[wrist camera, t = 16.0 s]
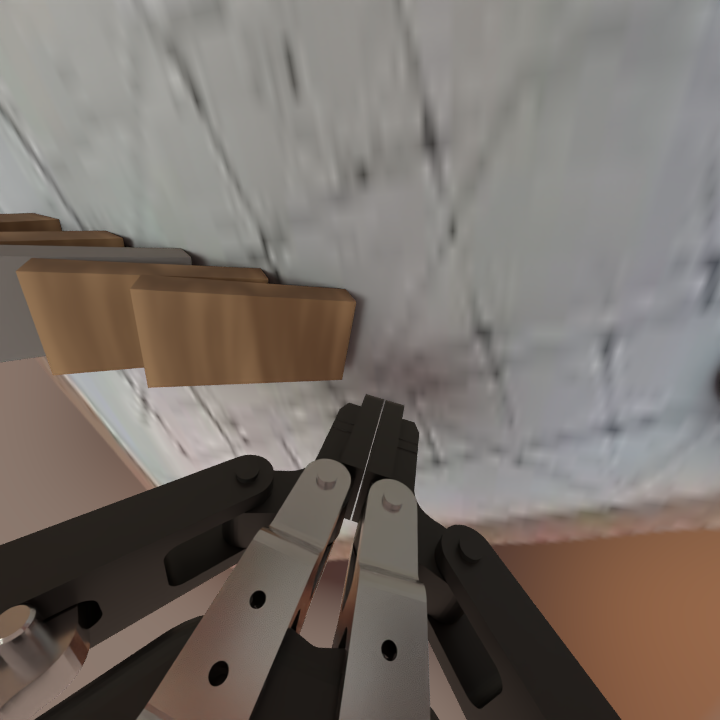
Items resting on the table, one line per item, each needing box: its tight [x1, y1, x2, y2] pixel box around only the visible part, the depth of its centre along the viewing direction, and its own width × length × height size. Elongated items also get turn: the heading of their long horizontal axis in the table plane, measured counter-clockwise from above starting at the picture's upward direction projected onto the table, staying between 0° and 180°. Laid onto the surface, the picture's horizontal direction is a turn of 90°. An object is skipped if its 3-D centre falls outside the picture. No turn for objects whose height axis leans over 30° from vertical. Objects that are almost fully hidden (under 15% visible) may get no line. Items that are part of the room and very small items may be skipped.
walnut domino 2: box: [16, 258, 268, 375], centre depth 17 cm, size 2×5×10 cm
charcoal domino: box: [0, 245, 192, 362], centre depth 17 cm, size 2×5×10 cm
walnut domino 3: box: [130, 275, 356, 388], centre depth 17 cm, size 2×5×10 cm
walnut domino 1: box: [0, 231, 124, 247], centre depth 17 cm, size 2×5×10 cm, turn 170°
